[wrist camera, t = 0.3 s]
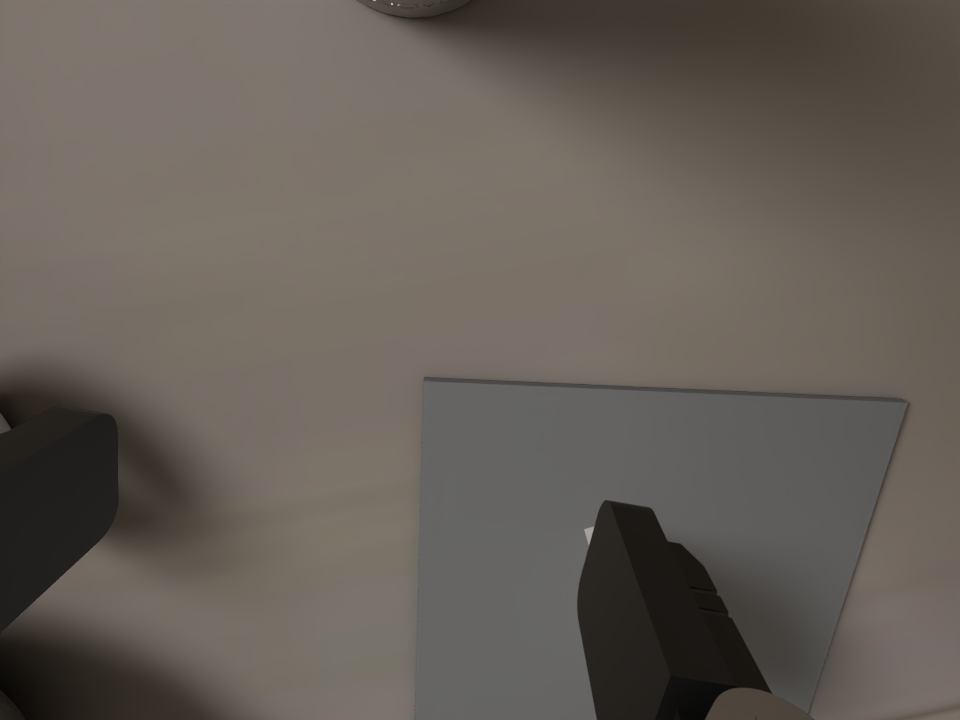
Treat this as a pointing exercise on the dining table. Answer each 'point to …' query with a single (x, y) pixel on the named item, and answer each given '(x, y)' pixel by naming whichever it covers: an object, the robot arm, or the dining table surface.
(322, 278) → the dining table surface
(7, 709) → the bowl
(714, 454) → the mat
